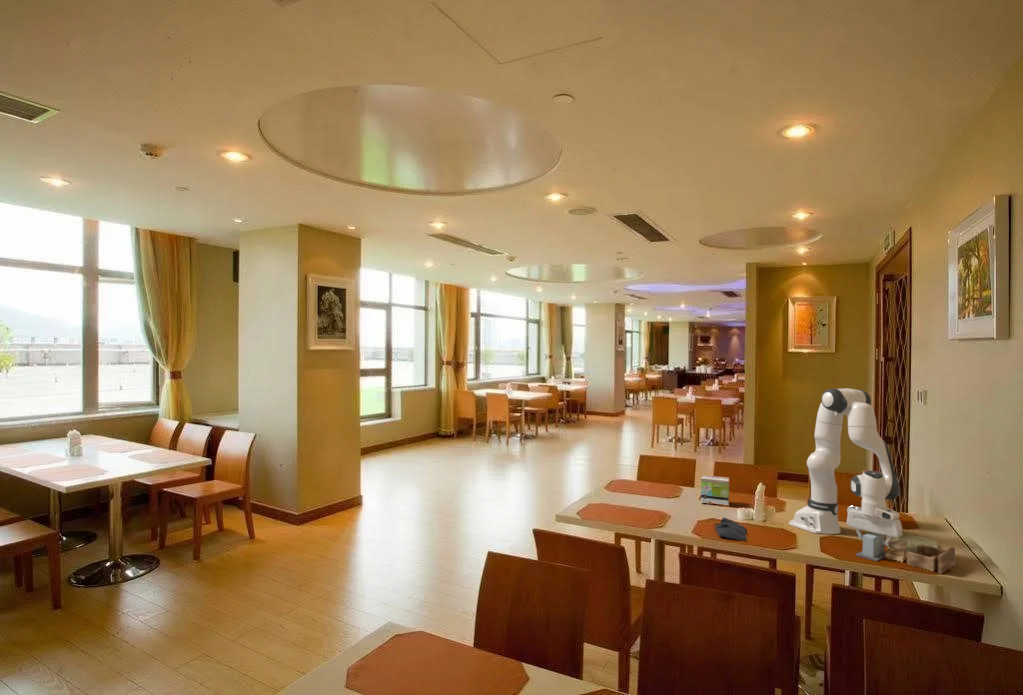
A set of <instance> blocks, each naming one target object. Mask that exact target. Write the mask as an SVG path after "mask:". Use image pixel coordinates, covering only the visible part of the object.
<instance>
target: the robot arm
mask: <svg viewBox="0 0 1023 695" xmlns="http://www.w3.org/2000/svg"><path fill="white" fill-rule="evenodd" d="M820 399H821V402H820V404H819V406H818V410H817V413H816V414H817V415H816V420H815V428H814V435H813V436H814V440H815V442H814V443H815V450H814V452H811V453H810V455H809V456H808V458H807V460H806V466H807V468H808V473H809V480H810V498H808V499H806V500H805V503H806V504H807V505H805V506H803V507H802V508H799V509H798V510H796V512H795V513H794V516H793V519H791V520H789V522H788V525H790V526H792V527H795V528H797V529H801V530H805V531H806V532H811V533H813V534H826V535H827V534H828V535H838V534H840V533H842V529H841V528H840V523H839V516H838V514H839V502H838V485H837V482H836V476H835V469H838V467H839V466H840V464H841V460H842V459H841V438H842V437H841V435H842V429H843V421H844V420H843V419H844V415H845V416H846V418H847V432H848V437H849V439H850V440H851V442H852V443H853V444H854V445H856V446H858V447H860V448H862V449H865V450H868V451H870V452H871V453H874V455H876V457H877V458H878V462H879V467H880V470H881V472H882V474H881V473H879V472H880V471H876V470H864V471H865V472H863V474H862V473H861V474H858V475H857V474H856V475H854V476H853V477H852V478H851V479H850V484H849V486H850V492H852V493H853V494H854V495H855V496H857V497H860V498H861V506H857V505H856V506H855V505H849V506H848V507H847V509H846V510H847V511H846V512H847V517H846V525H847V526H848V527H850V528H855V532H856V534H857V535H858V539H859V540H862V541H863V535H864V534H863V533H862V531H865V532H866V531H867V532H869V533H870V532H874V533H878V534H882V535H884V536H885V537H886V539H887V538H888V539H887V540H886V539H885V540H884V541H883V543H884V544H883V545H884V547H888V546H889V541H890V540H891V539H892V537H894V538H899V537H901V536H902V534H903V526H902V522H901V520H900V519H899V518H900V513H899V512H898V511H896V510H894V509H891V508H889V507H888V506H887V503H886V500H888V501H893V500H895V499H896V498H898V497H899V496H900V494H901V487H900V482H899V480H898V478H897V475H896V472H895V471H896V470H895V467H894V464H893V459H892V457H891V452H890V449H889V446H888V444H887V442H886V440H884V439H883V438H881V436H880V434H879V433H878V428H877V426H878V425H877V418H876V415H875V410H874V408H873V406H872V397H871V396H870V394H869V393H868V392H867V391H864V390H862V389H854V388H846V387H845V388H834V387H833V388H828V389H826V390H825V391H823V393H822V394H821V397H820Z"/></svg>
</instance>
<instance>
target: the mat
mask: <svg viewBox="0 0 1023 695" xmlns="http://www.w3.org/2000/svg"><path fill="white" fill-rule="evenodd" d="M887 552H889V550H888V551H887V550H884V552H883V553H881V554H879V555H877V556H875V557H870V556H866V555H863V550H861V551H860V552H858V553H855V556H856V557H860V558H863V559H866V560H870V561H874V562H879V561H881V560H883V559H884V558H886V553H887Z"/></svg>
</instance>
